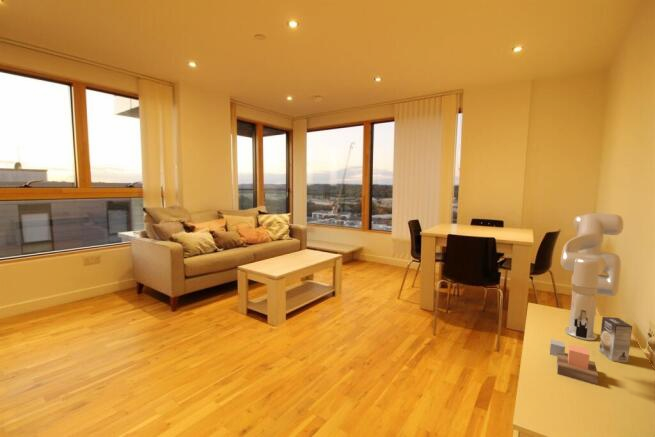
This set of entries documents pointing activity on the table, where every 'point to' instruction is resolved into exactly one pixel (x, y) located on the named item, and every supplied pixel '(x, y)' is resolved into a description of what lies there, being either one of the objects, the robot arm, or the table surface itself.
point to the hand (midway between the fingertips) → (580, 331)
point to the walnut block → (577, 370)
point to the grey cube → (557, 347)
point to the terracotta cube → (578, 356)
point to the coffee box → (615, 339)
